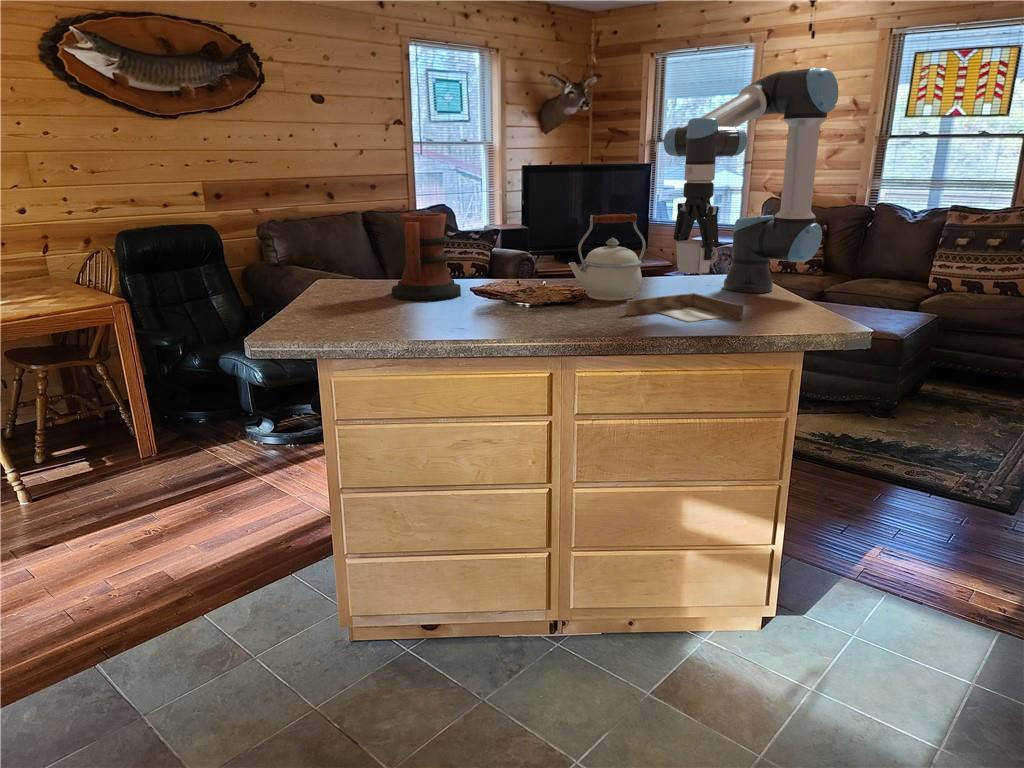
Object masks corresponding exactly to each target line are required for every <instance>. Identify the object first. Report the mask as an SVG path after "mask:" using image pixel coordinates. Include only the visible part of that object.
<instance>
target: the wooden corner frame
mask: <svg viewBox="0 0 1024 768" xmlns="http://www.w3.org/2000/svg"><path fill="white" fill-rule="evenodd" d="M744 307H745V306H744V305H742V304H739V303H735V302H730V301H727V300H723V299H719V298H715V297H711V296H708V295H704V294H699V293H695V292H691V293H680V294H674V295H673V294H672V295H663V296H654V297H645V298H644V297H643V298H638V299H637V298H635V299H628V300H626V306H625V309H626V310H625V315H626V316H635V315H636V316H637V315H644V314H652V313H656V314H660V315H663V316H666V317H668V318H669V317H670V318H673V319H675V320H678V321H682V322H685V323H693V322H700V321H701V322H702V321H708V320H710V321H711V320H716V319H725V318H727V319H731V320H734V321H738V322H740V321H742V322H743V315H744Z"/></svg>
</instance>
